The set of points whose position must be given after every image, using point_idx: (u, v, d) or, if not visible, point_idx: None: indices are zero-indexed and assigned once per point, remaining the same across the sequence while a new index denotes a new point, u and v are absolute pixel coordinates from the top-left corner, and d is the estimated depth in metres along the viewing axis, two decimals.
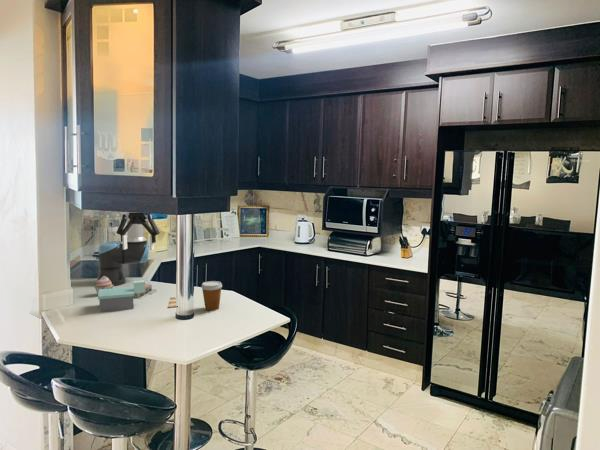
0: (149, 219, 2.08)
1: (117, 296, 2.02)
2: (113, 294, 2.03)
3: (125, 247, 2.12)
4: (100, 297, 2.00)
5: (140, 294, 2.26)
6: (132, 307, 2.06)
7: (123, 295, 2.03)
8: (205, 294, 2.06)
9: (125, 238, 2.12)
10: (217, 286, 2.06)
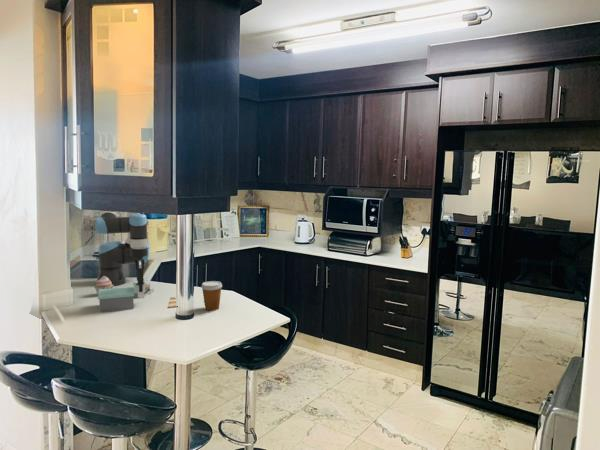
0: (137, 268, 2.05)
1: (117, 296, 2.02)
2: (113, 294, 2.03)
3: None
4: (100, 297, 2.00)
5: None
6: (132, 307, 2.06)
7: (123, 295, 2.03)
8: (205, 294, 2.06)
9: None
10: (217, 286, 2.06)
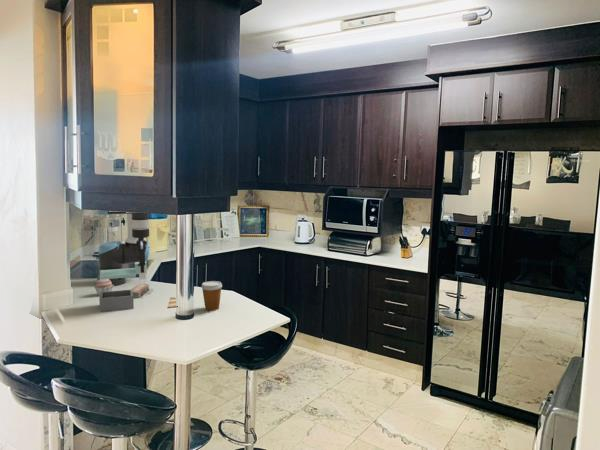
0: (139, 249, 2.05)
1: (119, 276, 2.02)
2: (115, 274, 2.03)
3: None
4: (102, 277, 1.99)
5: (140, 294, 2.26)
6: (132, 307, 2.06)
7: (125, 276, 2.03)
8: (205, 294, 2.06)
9: None
10: (217, 286, 2.06)
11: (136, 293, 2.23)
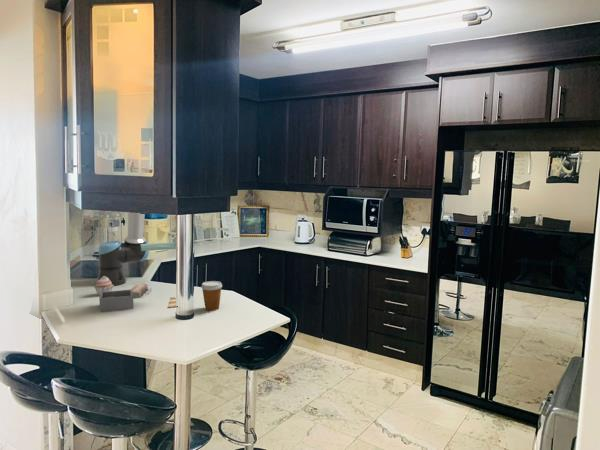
0: None
1: (159, 248, 2.08)
2: (155, 246, 2.09)
3: None
4: (143, 249, 2.05)
5: (141, 294, 2.26)
6: (132, 307, 2.06)
7: (165, 247, 2.09)
8: (205, 294, 2.06)
9: None
10: (217, 286, 2.06)
11: (136, 293, 2.23)
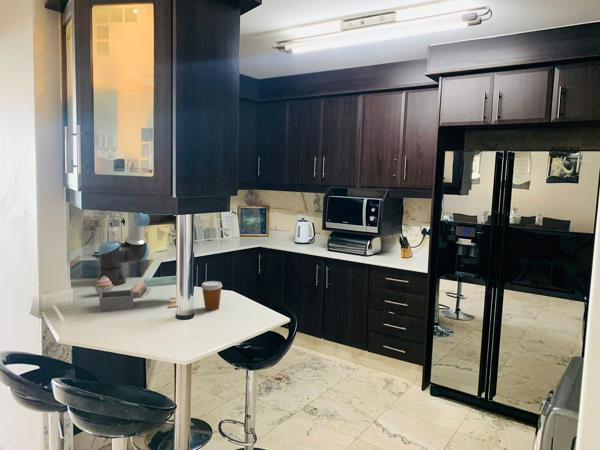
0: None
1: (163, 284, 2.10)
2: (159, 282, 2.11)
3: None
4: (147, 285, 2.08)
5: (141, 293, 2.27)
6: (132, 307, 2.06)
7: (169, 283, 2.11)
8: (205, 294, 2.06)
9: None
10: (217, 286, 2.06)
11: (137, 293, 2.23)
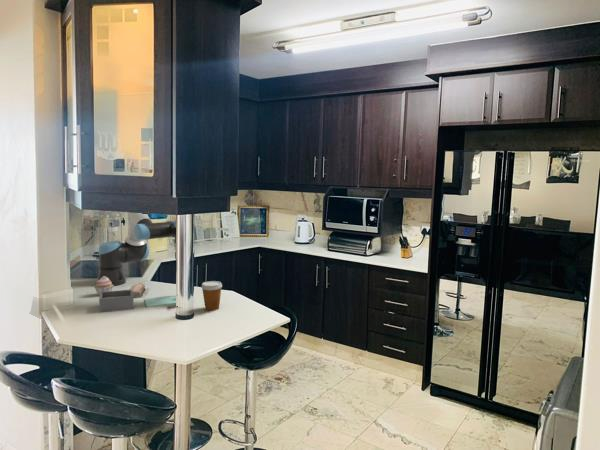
0: None
1: (164, 305, 2.11)
2: (160, 303, 2.12)
3: None
4: (148, 306, 2.09)
5: (141, 293, 2.27)
6: (132, 307, 2.06)
7: (169, 304, 2.12)
8: (205, 294, 2.06)
9: None
10: (217, 286, 2.06)
11: (137, 293, 2.24)
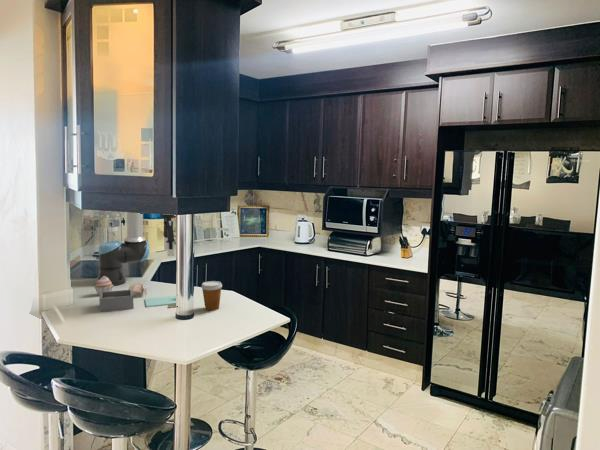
0: (167, 225, 2.11)
1: (164, 305, 2.11)
2: (160, 303, 2.12)
3: (166, 248, 2.25)
4: (148, 306, 2.09)
5: (141, 293, 2.27)
6: (132, 307, 2.06)
7: (169, 304, 2.12)
8: (205, 294, 2.06)
9: (166, 240, 2.25)
10: (217, 286, 2.06)
11: (138, 293, 2.24)
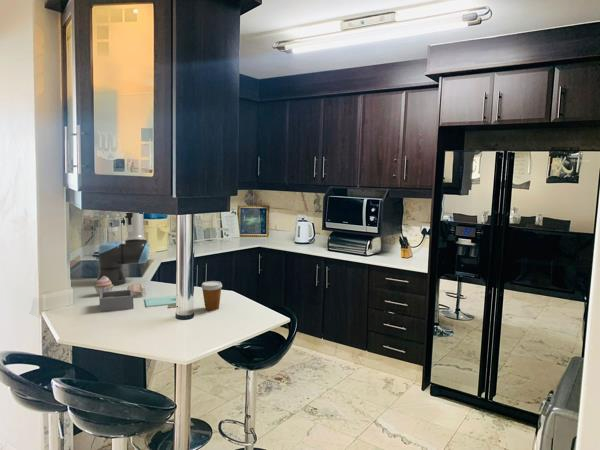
0: None
1: (164, 305, 2.11)
2: (160, 303, 2.12)
3: None
4: (148, 306, 2.09)
5: None
6: (132, 307, 2.06)
7: (169, 304, 2.12)
8: (205, 294, 2.06)
9: None
10: (217, 286, 2.06)
11: (138, 292, 2.24)
